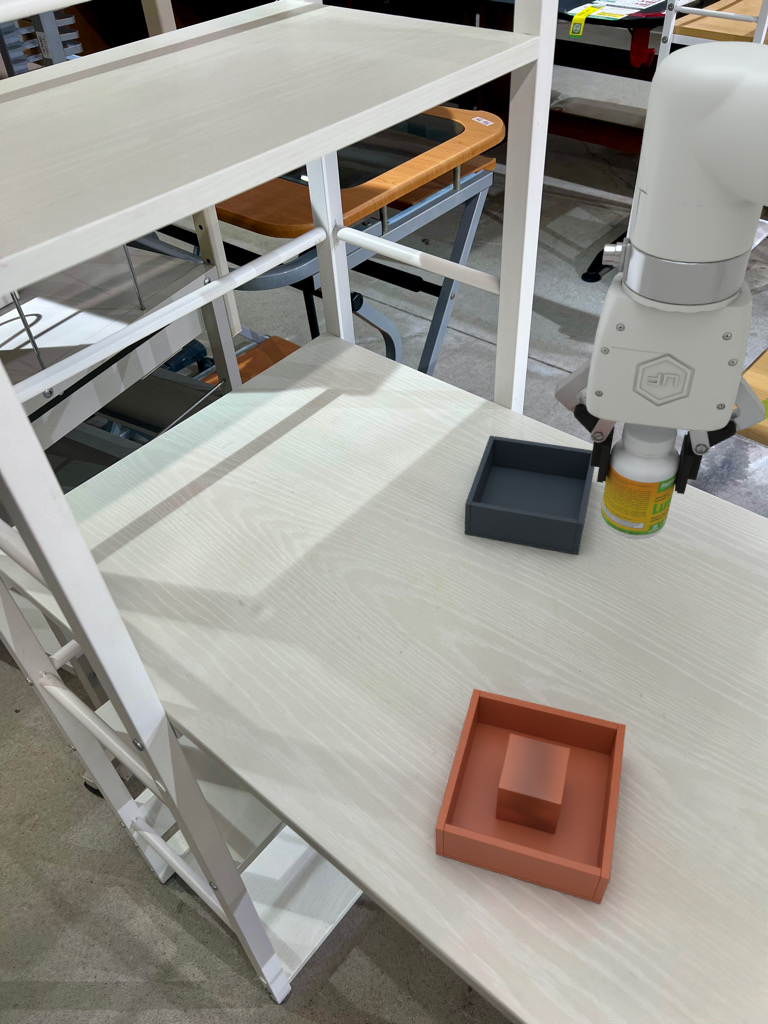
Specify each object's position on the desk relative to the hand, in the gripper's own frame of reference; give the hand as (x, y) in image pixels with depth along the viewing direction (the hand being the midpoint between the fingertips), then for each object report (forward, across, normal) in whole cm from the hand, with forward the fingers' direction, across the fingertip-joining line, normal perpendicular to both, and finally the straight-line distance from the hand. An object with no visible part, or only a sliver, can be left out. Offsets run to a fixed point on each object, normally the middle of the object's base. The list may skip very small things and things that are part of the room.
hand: (641, 475), depth 61 cm
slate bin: (+17, -10, +13) cm, 23 cm away
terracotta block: (+17, -4, -21) cm, 27 cm away
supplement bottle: (+5, 0, 0) cm, 5 cm away
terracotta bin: (+17, -4, -21) cm, 28 cm away
